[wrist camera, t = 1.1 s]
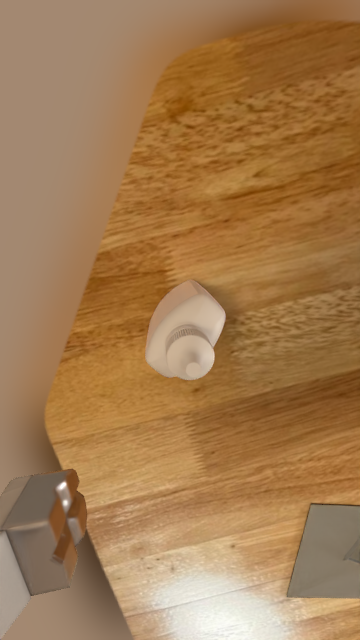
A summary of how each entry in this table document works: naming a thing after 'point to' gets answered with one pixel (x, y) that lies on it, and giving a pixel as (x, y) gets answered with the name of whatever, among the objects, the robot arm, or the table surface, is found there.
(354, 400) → the table surface
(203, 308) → the eye dropper bottle
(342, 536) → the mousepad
